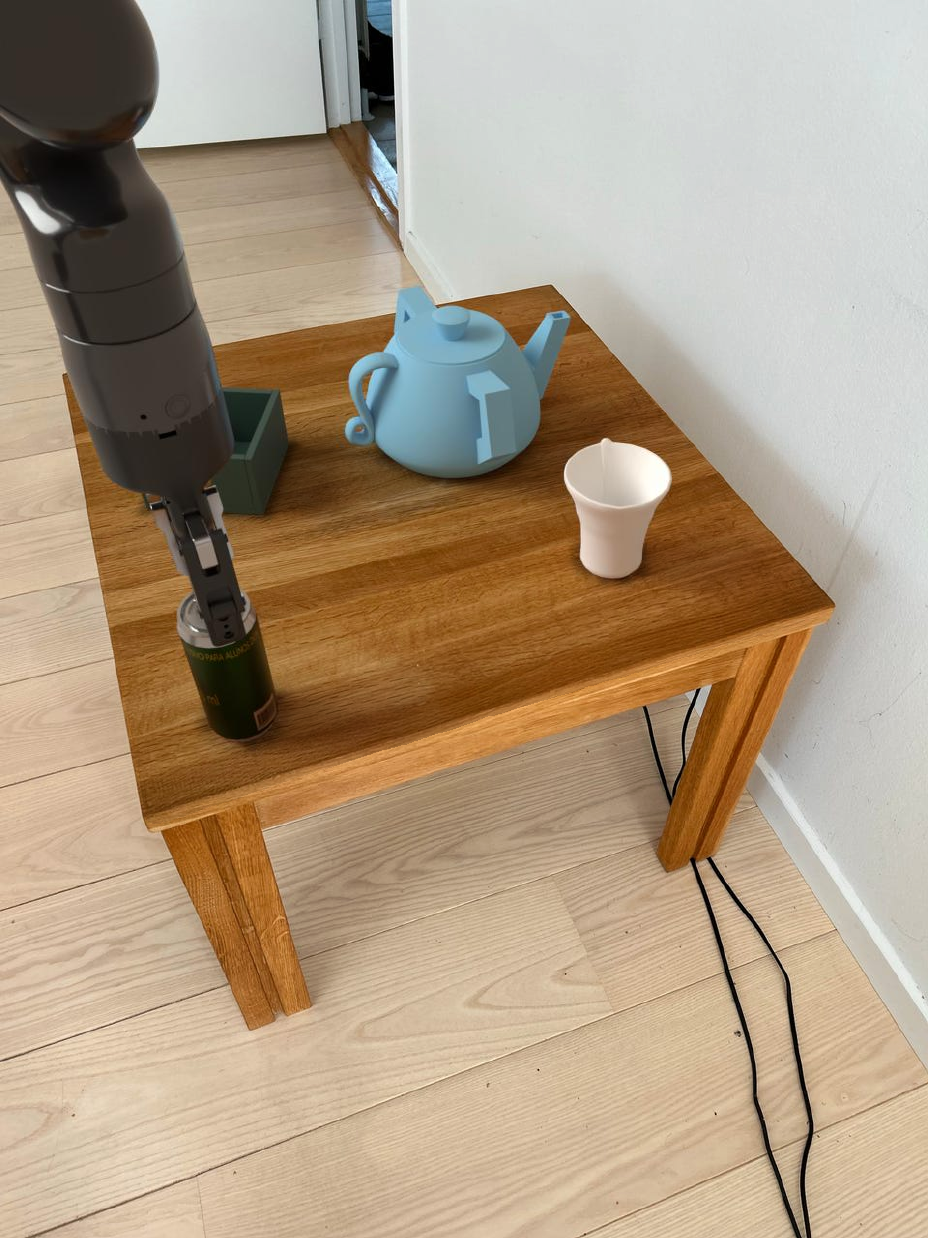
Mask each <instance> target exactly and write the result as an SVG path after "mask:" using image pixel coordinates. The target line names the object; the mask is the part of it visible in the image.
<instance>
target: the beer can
mask: <svg viewBox="0 0 928 1238" xmlns="http://www.w3.org/2000/svg"><path fill="white" fill-rule="evenodd" d="M240 592H241V596H242V597H244V599H245V602H246V605H244V607H245V612H242V613H241V616H242V620H243V624H244V627H245V631H246V636H245V637H244V638H243V639H241V640H239V641H236V642H233V643H230V644H227V645H224V646H220V647H216V646H213V645H212V642H211V640H210V637H209V634H208V631H207V628H206V624H205V622H204V619H201V618H200V616H199V613H198V611H200V610H199V607H198V606H195V603H194V600H193V599H194V598H195V595H194V592H193V590H192V591H190V592H189V593H188V594H187V595H186V596H185V597H183V599H182V600H181V601H180V603H179V605H178V607H177V608H176V609H177V610H176V630H177V633H178V636H179V639H180V642H181V645H182V648H183V651H184V654H185V657H186V660H187V663H188V666H189V669H190V672H191V675H192V678H193V681H194V685H195V687H196V690H197V693H198V696H199V699H200V702H201V705H202V708H203V711H204V714H205V716H206V720H207V723H208V726H209V727H210V729H211V730H212V731H213V733H215V734H216V735H217V736H218V737H220V738H222V739H224V740H227V741H229V742H235V743H246V742H251V741H253V740H256V739H259V738H260V737H262V736H264V735H265V734H266V733H267V732H268V731H269V730H270V729H271V727H272V726H273V725H274V722H275V720H276V717H277V716H278V713H279V702H278V697H277V692H276V688H275V685H274V681H273V677H272V673H271V669H270V663H269V660H268V656H267V652H266V647H265V642H264V640H263V635H262V630H261V626H260V623H259V619H258V613H257V610H256V608H255V605H254V604H253V602H252V601H251V600H250V598H249V596H248V594H247V593H246V592H245V590H243V589H242V588H240Z"/></svg>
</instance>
